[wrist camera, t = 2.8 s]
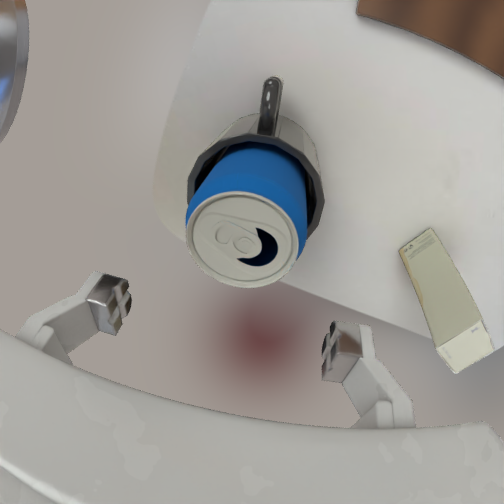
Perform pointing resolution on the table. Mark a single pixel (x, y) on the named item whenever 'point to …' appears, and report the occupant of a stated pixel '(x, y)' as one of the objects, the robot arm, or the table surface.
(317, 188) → the mug
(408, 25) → the serving board
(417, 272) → the cosmetic box
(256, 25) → the table surface
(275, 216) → the beverage can
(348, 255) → the table surface
